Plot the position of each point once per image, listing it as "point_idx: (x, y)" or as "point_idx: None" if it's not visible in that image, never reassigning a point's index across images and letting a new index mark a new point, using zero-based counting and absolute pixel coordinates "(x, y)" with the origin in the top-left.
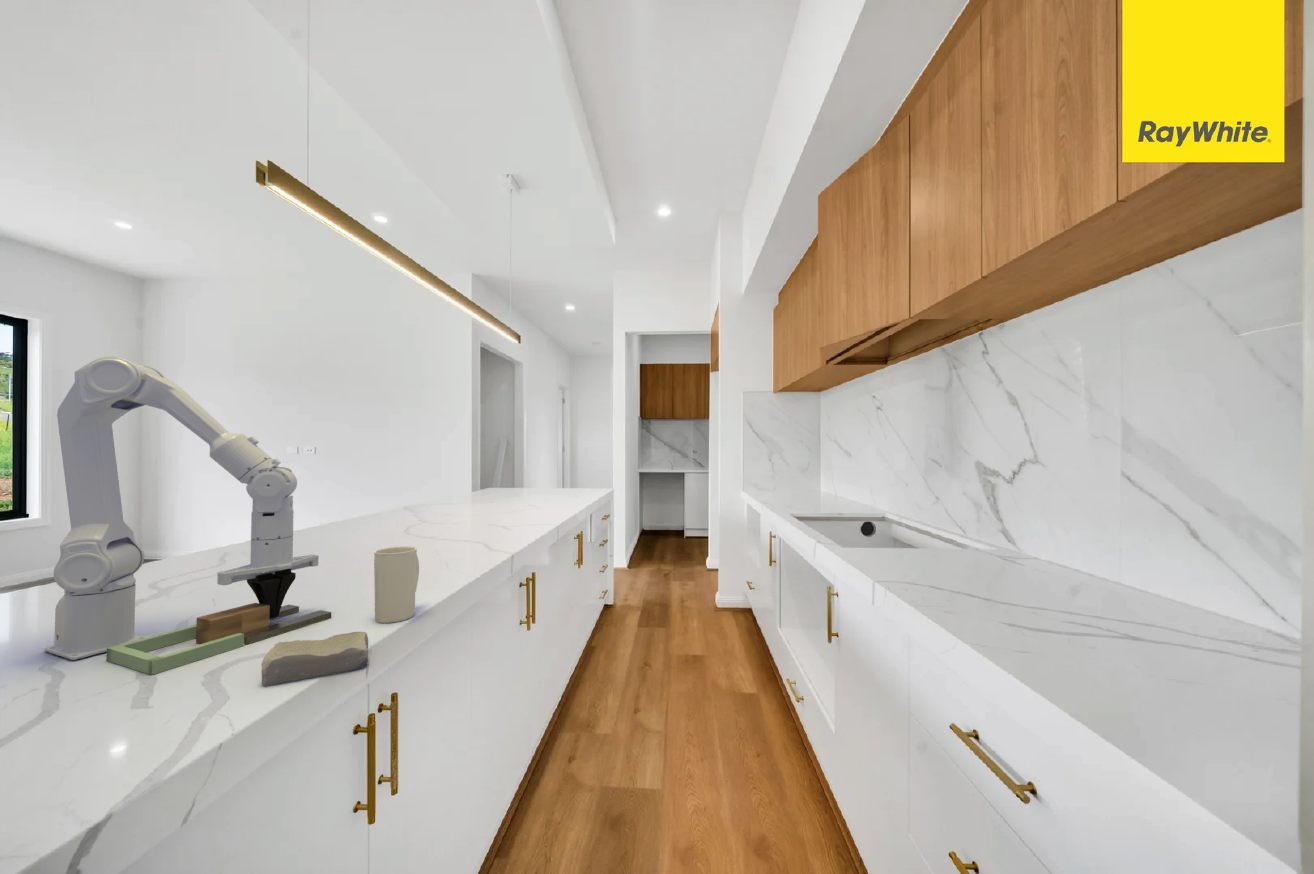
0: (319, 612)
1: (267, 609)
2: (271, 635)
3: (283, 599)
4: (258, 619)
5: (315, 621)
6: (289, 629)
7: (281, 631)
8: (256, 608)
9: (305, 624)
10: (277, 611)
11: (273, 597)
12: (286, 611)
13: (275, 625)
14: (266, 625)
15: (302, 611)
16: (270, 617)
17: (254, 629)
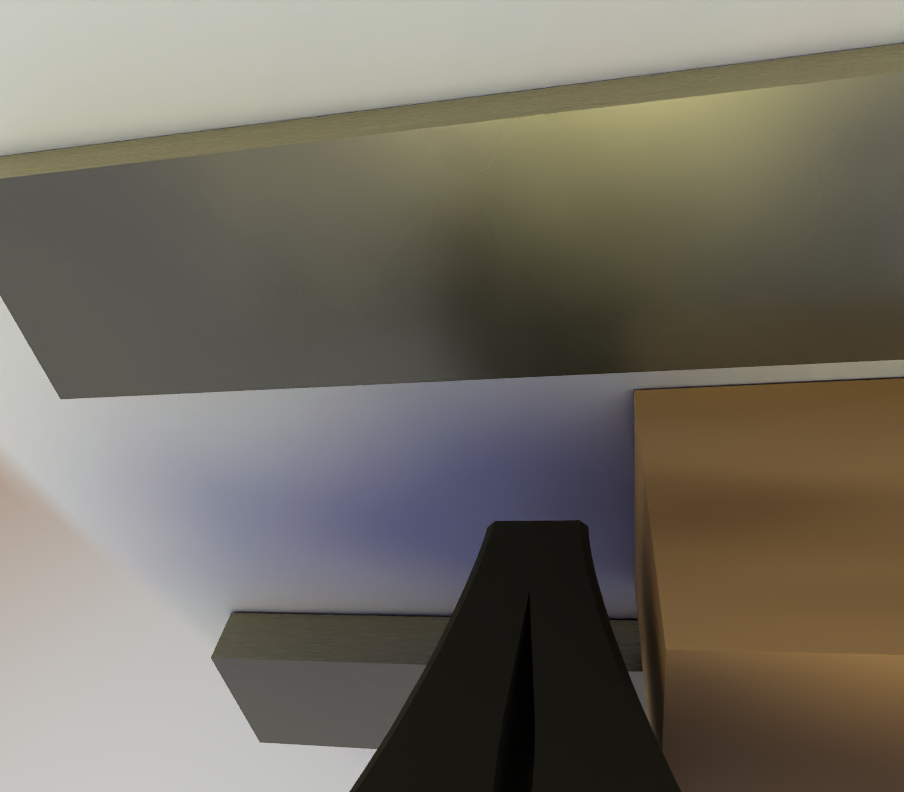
0: (81, 322)
1: (692, 596)
2: (840, 57)
3: (415, 693)
4: (807, 500)
5: (188, 134)
6: (556, 95)
7: (686, 73)
8: (879, 668)
9: (325, 120)
10: (509, 563)
11: (589, 780)
12: (324, 645)
13: (663, 289)
14: (673, 426)
15: (206, 599)
16: (583, 533)
17: (820, 418)
